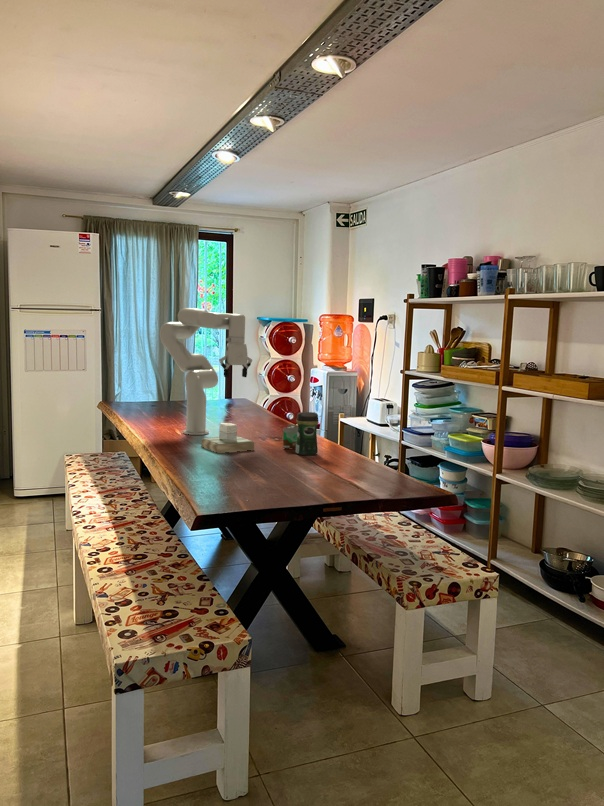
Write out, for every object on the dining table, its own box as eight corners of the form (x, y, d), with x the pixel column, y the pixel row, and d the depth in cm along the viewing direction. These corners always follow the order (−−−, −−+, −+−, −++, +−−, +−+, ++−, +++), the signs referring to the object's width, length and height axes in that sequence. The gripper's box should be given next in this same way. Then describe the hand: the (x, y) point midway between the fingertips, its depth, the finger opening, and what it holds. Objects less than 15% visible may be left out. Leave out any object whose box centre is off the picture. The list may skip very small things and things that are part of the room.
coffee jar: (314, 451, 293) (316, 410, 291) (319, 455, 286) (321, 413, 284) (293, 452, 291) (295, 410, 289) (297, 455, 283) (299, 413, 281)
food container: (295, 450, 294) (296, 428, 293) (282, 449, 295) (283, 427, 294) (301, 445, 306) (302, 424, 305) (288, 444, 307) (289, 423, 306)
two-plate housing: (226, 441, 288) (227, 425, 287) (219, 438, 294) (219, 423, 293) (236, 440, 291) (237, 425, 290) (228, 437, 297) (229, 422, 296)
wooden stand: (201, 446, 294) (201, 438, 294) (236, 443, 304) (236, 435, 304) (218, 453, 281) (218, 444, 281) (254, 450, 292) (254, 441, 291)
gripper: (224, 340, 299) (223, 378, 301) (256, 341, 309) (255, 377, 311) (216, 340, 305) (215, 376, 307) (248, 340, 315) (247, 376, 317)
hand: (235, 377), depth 309 cm, fingers open, 9 cm apart
